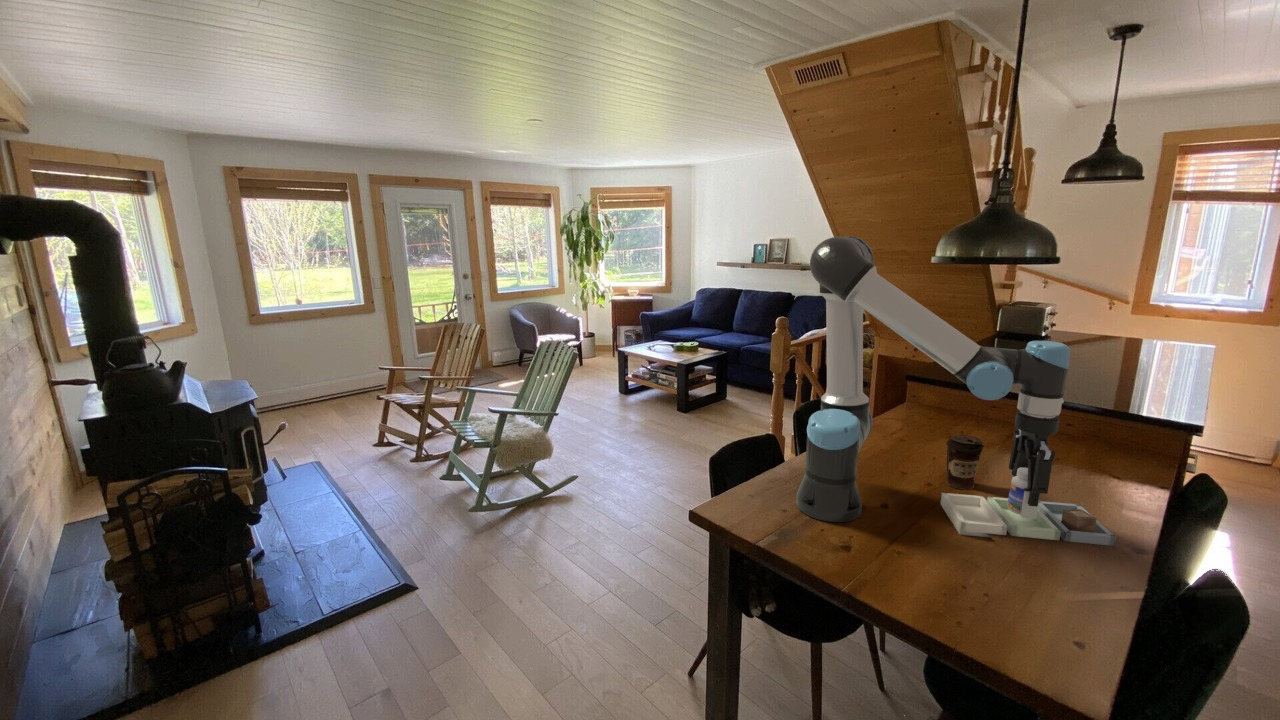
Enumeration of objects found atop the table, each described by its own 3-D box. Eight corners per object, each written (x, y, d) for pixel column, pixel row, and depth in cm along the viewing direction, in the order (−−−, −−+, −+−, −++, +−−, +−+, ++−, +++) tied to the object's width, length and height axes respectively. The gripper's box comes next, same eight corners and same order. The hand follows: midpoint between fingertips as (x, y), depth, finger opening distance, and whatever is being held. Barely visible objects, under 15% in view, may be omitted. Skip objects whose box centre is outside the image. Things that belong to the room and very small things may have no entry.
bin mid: (1010, 539, 115) (1012, 527, 114) (985, 508, 128) (987, 496, 128) (1058, 544, 113) (1060, 531, 112) (1028, 511, 126) (1030, 500, 126)
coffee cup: (984, 494, 135) (991, 446, 132) (948, 491, 137) (954, 444, 134) (970, 478, 143) (977, 433, 140) (937, 476, 145) (942, 432, 142)
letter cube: (1075, 536, 114) (1078, 518, 113) (1060, 526, 118) (1063, 509, 117) (1093, 535, 114) (1096, 518, 113) (1077, 525, 118) (1081, 509, 117)
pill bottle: (1001, 507, 122) (1007, 467, 119) (1018, 503, 123) (1024, 464, 121) (1024, 518, 117) (1031, 477, 114) (1042, 514, 118) (1049, 474, 116)
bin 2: (1064, 545, 113) (1066, 532, 112) (1033, 512, 126) (1035, 500, 125) (1113, 550, 111) (1116, 537, 110) (1077, 516, 124) (1079, 504, 123)
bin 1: (959, 534, 117) (961, 522, 117) (940, 503, 131) (941, 492, 130) (1005, 539, 115) (1007, 526, 115) (981, 507, 129) (982, 496, 128)
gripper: (1081, 428, 105) (1062, 534, 110) (1037, 401, 122) (1022, 492, 128) (1038, 426, 107) (1021, 530, 112) (1000, 399, 124) (987, 490, 129)
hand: (1022, 510), depth 120 cm, fingers closed on pill bottle, 5 cm apart
